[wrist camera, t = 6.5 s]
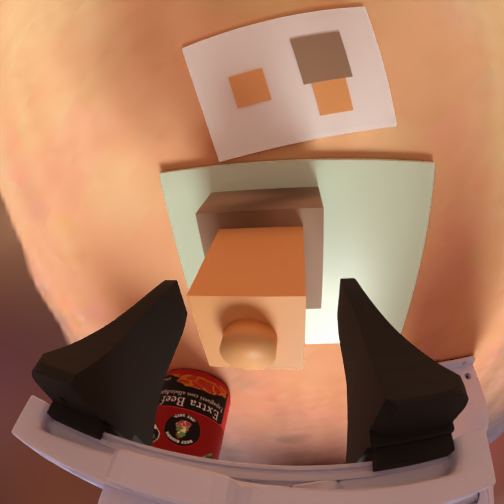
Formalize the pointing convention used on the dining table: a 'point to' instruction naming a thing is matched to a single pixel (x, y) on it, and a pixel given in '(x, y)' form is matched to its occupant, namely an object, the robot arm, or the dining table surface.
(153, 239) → the dining table surface
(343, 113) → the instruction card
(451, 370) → the robot arm
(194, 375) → the canned food
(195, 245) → the board
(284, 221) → the base block
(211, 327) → the brick
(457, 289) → the dining table surface
